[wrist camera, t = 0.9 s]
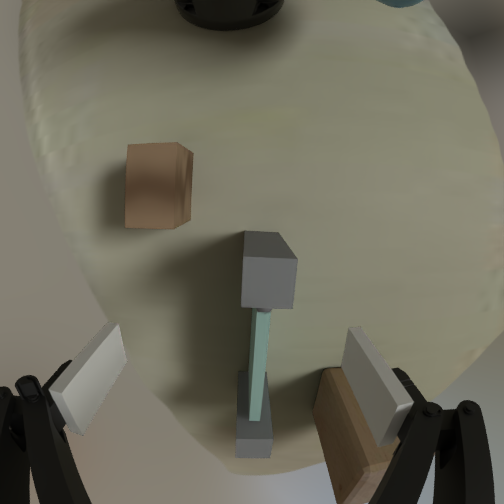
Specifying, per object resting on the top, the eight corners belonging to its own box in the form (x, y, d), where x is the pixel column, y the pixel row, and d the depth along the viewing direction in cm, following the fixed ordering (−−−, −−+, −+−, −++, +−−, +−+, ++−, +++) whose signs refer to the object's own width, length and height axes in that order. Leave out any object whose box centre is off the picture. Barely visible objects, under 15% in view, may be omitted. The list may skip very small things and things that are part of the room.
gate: (253, 267, 34) (256, 299, 24) (265, 268, 34) (272, 299, 24) (247, 370, 37) (248, 420, 27) (257, 371, 37) (260, 420, 27)
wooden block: (310, 412, 40) (335, 511, 20) (321, 365, 38) (363, 474, 18) (364, 406, 40) (405, 493, 20) (380, 361, 38) (441, 450, 18)
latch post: (238, 371, 37) (235, 438, 25) (266, 372, 38) (273, 439, 25) (237, 391, 38) (235, 457, 26) (264, 392, 38) (269, 458, 26)
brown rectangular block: (153, 153, 31) (127, 144, 23) (193, 153, 31) (177, 142, 23) (151, 218, 33) (125, 227, 25) (190, 220, 33) (173, 229, 25)
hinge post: (244, 230, 33) (243, 256, 20) (278, 232, 33) (297, 259, 20) (243, 263, 34) (241, 307, 21) (276, 265, 34) (292, 308, 21)
